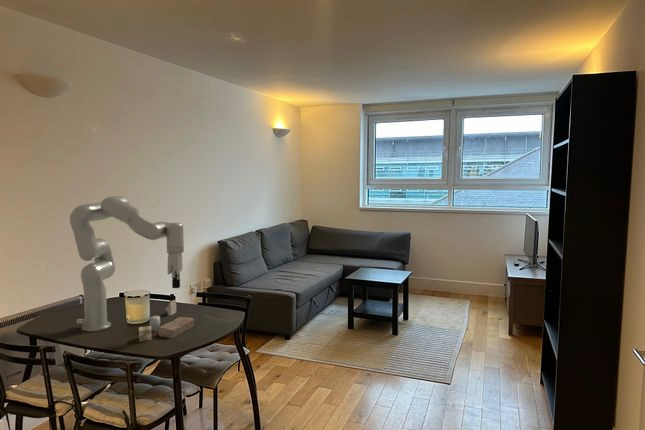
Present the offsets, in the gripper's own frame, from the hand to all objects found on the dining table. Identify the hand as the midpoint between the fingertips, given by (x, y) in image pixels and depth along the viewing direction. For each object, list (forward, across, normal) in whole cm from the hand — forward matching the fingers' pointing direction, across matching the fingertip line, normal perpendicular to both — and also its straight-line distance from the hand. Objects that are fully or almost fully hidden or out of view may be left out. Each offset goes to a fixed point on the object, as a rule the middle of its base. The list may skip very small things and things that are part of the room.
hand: (176, 287), depth 209 cm
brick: (+22, 0, 0) cm, 22 cm away
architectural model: (+22, -27, -9) cm, 36 cm away
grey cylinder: (+21, -3, -11) cm, 24 cm away
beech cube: (+21, +9, -12) cm, 26 cm away
